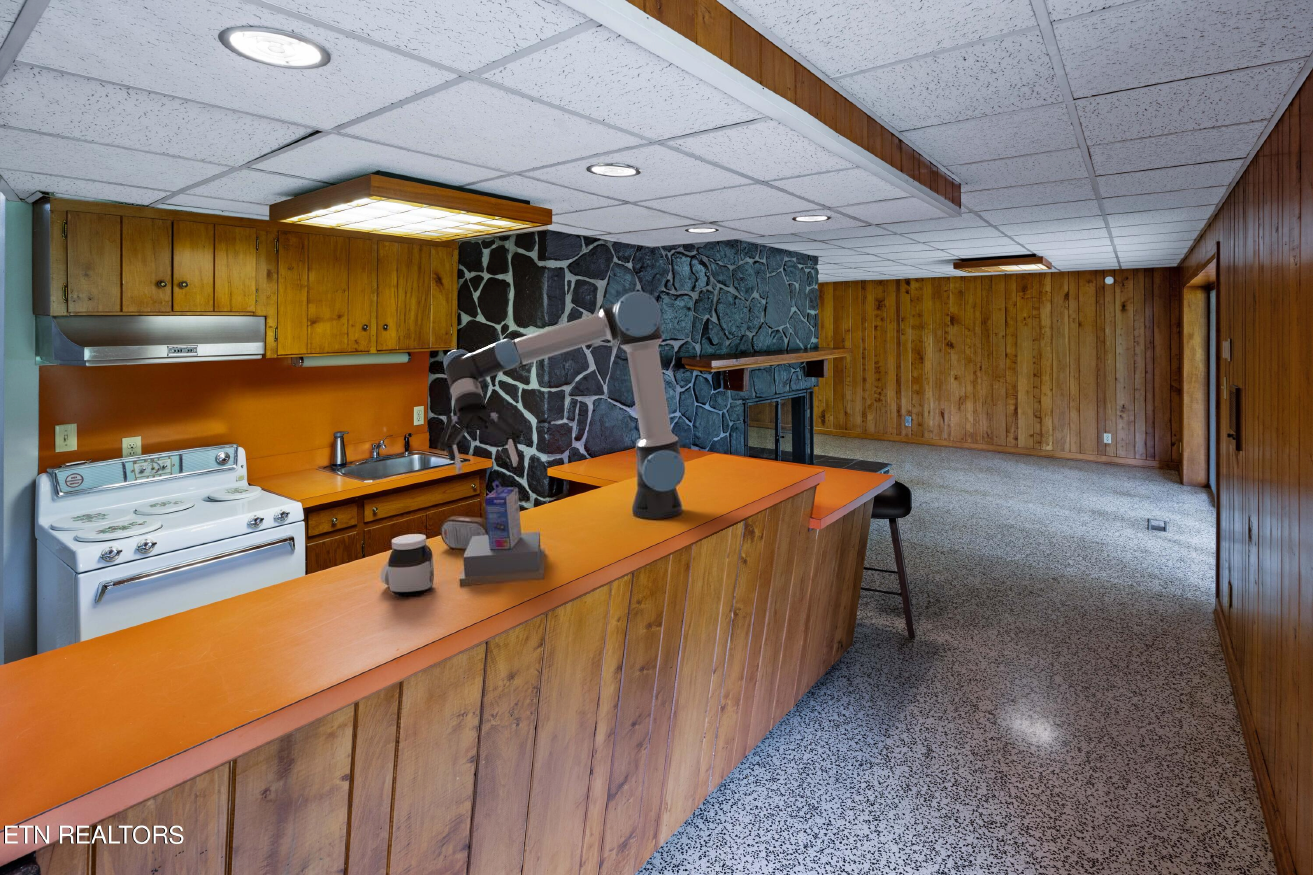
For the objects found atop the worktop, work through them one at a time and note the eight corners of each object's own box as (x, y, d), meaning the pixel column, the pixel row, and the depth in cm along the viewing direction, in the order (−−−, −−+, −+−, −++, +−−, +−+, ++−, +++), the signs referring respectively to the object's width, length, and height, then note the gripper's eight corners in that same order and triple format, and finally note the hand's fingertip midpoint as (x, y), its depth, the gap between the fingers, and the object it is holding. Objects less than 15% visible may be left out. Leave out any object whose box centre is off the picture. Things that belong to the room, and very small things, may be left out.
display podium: (545, 553, 163) (543, 530, 162) (543, 578, 145) (542, 552, 144) (470, 559, 160) (468, 535, 159) (459, 585, 142) (457, 558, 142)
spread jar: (421, 600, 135) (417, 545, 133) (367, 601, 135) (362, 546, 134) (443, 579, 147) (439, 529, 145) (393, 580, 147) (388, 529, 145)
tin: (496, 549, 167) (494, 517, 166) (489, 553, 164) (487, 520, 163) (447, 545, 172) (444, 514, 171) (439, 549, 169) (437, 517, 168)
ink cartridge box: (499, 537, 157) (495, 477, 155) (522, 536, 157) (518, 477, 155) (487, 549, 147) (482, 486, 145) (511, 549, 147) (507, 486, 145)
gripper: (514, 406, 177) (535, 469, 166) (417, 413, 165) (433, 482, 154) (518, 387, 172) (541, 451, 161) (419, 394, 160) (435, 463, 149)
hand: (488, 466), depth 158 cm, fingers open, 13 cm apart
